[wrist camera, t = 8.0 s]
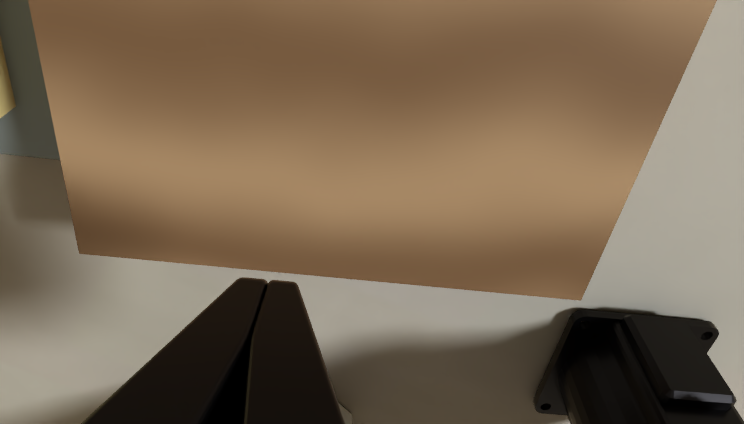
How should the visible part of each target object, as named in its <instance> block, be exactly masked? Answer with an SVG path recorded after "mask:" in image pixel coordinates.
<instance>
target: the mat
mask: <svg viewBox="0 0 744 424" xmlns="http://www.w3.org/2000/svg"><path fill="white" fill-rule="evenodd" d="M0 38H1V42H2V47H3V51H4V56H5V60H6V65H7V69H8V73H9V78H10V82H11V87H12V91H13V96H14V100H15V105H16V107H14V108H13V109H12V110H10V111H9V112H8V113H7V114H5V115H4V116H3V117H1V118H0V154H9V155H19V156H28V157H37V158H47V159H56V160H60V156H59V151H58V146H57V141H56V136H55V131H54V126H53V121H52V116H51V111H50V106H49V101H48V97H47V92H46V87H45V82H44V77H43V72H42V67H41V62H40V57H39V52H38V47H37V42H36V37H35V32H34V27H33V22H32V17H31V12H30V7H29V2H28V0H0Z"/></svg>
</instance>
